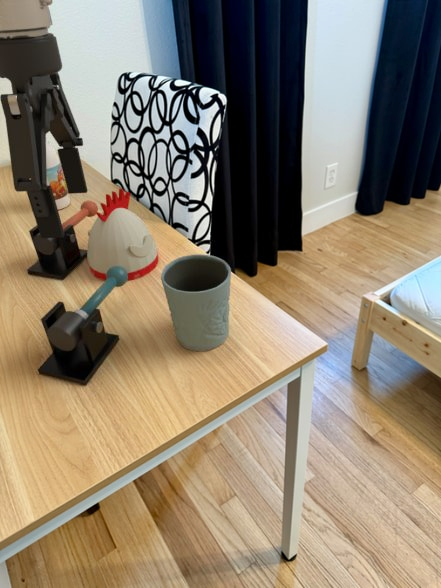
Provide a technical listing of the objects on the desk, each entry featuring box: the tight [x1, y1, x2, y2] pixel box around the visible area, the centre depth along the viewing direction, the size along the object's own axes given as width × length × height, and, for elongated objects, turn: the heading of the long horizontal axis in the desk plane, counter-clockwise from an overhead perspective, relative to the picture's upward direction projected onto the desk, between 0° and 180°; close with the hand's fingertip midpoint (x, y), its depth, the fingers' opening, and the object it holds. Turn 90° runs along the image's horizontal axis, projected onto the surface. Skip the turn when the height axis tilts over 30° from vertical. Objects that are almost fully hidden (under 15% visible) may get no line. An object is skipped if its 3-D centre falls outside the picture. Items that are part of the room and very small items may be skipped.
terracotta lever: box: [32, 200, 99, 255], centre depth 89 cm, size 18×4×4 cm, turn 162°
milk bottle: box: [46, 138, 71, 211], centre depth 105 cm, size 8×8×20 cm
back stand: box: [26, 225, 87, 281], centre depth 85 cm, size 10×8×8 cm
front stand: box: [37, 300, 120, 386], centre depth 64 cm, size 10×8×8 cm
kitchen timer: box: [86, 188, 159, 282], centre depth 83 cm, size 14×14×15 cm
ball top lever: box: [46, 266, 128, 351], centre depth 67 cm, size 18×4×4 cm, turn 162°
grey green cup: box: [160, 253, 232, 352], centre depth 66 cm, size 10×10×12 cm
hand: (66, 212), depth 59 cm, fingers open, 13 cm apart
